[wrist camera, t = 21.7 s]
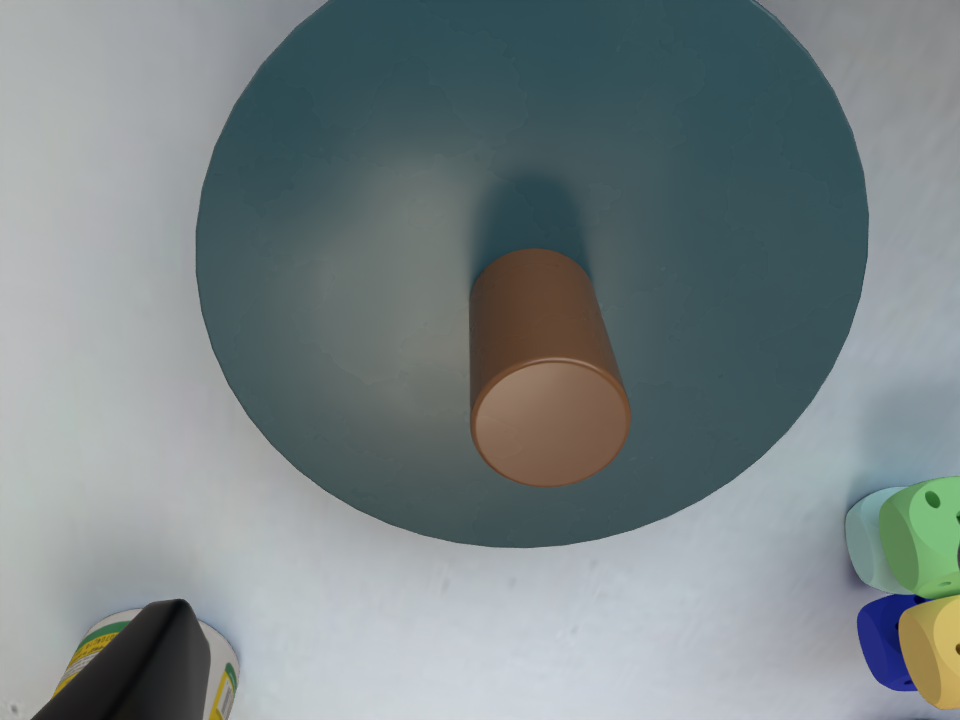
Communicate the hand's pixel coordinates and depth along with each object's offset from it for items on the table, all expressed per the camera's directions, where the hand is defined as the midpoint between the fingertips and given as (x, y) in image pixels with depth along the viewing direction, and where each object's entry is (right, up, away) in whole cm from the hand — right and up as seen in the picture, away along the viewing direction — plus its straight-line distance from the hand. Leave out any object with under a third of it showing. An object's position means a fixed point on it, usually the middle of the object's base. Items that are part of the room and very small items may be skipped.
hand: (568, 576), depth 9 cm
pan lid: (0, +4, +6) cm, 8 cm away
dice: (+12, -2, +16) cm, 20 cm away
